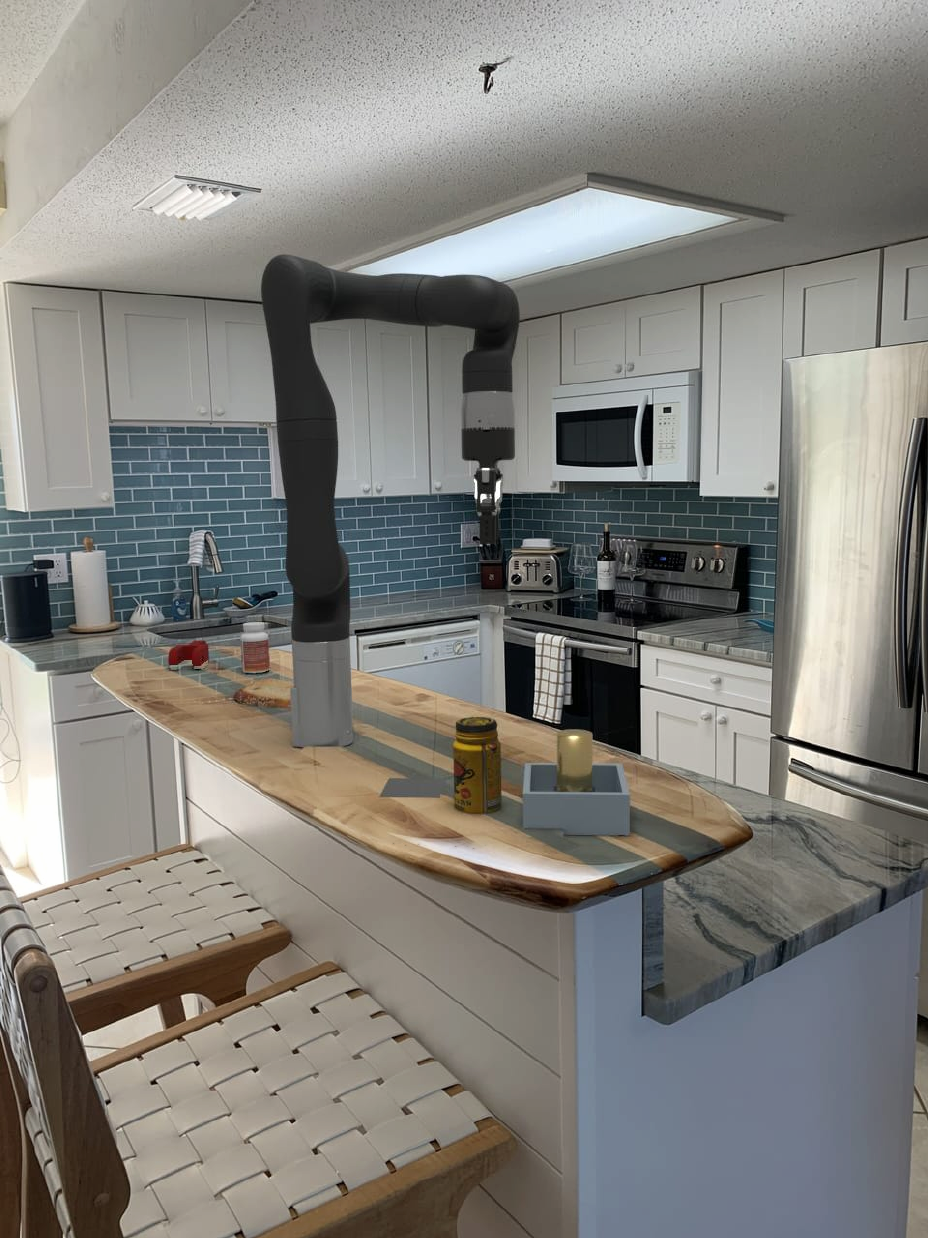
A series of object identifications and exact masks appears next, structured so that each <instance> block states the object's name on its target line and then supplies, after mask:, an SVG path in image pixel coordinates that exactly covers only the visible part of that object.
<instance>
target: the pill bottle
mask: <svg viewBox="0 0 928 1238" xmlns="http://www.w3.org/2000/svg"><path fill="white" fill-rule="evenodd" d="M242 629H243V633H242V634H241V635H240V640H239V642H240V659H241V671H244V672H251V673H256V672H265V671H268V670H270V671H271V663H270V662H271V661H270V660H271V659H270V644H269V643H270V642H269V635H268V634H267V632H265V631H264V630H265V622H264V621H263V622H262V621H252V622H251V621H250V622H245V623H243V624H242Z"/></svg>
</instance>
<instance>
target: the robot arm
mask: <svg viewBox="0 0 928 1238" xmlns="http://www.w3.org/2000/svg"><path fill="white" fill-rule="evenodd" d="M260 295H261V303H262V312H263V315H264V320H265V321H264V322H265V327H266V333H267V339H268V344H269V350H270V358H271V366H272V367H271V368H272V377H273V378H272V379H273V389H274V399H275V400H274V401H275V419H276V420H275V421H276V436H277V445H278V446H277V447H278V453H279V464H280V472H281V480H282V486H283V491H284V498H285V505H286V506H285V507H286V546H285V572H286V577H287V580H288V583H290V586H291V587H292V615H291V616H292V617H291V623H290V630H291V631H290V632H291V633H290V634H291V636H290V637H291V653H292V654H291V655H292V677H293V680H292V681H293V682H294V686H293V687H291V689H290V699H291V708H290V716H291V717H290V719H291V722H290V723H291V736H292V737H291V739H292V740H291V744H292V747H299V748H303V749H304V748H305V747H308V748H309V747H311V748H312V747H313V748H314V747H321V748H322V747H323V748H326V747H328V748H329V747H330V748H332V747H335V748H338V747H340V748H341V747H346V746H348V745H350V744H352V743H353V742H354V726H353V725H354V723H353V696H352V695H353V694H352V693H353V691H352V672H351V671H352V667H351V666H352V665H351V641H350V638H351V637H350V636H351V634H350V624H351V623H350V620H351V584H350V582H351V581H350V580H351V578H350V576H351V575H350V562H349V557H348V555H347V552H346V551H345V550H344V548H343V547H342V546H341V544H339V543H340V542H339V537H338V530H337V521H336V513H335V495H336V487H337V480H338V478H337V477H338V468H339V467H338V466H339V433H338V421H337V420H338V418H337V411H336V406H335V403H334V399H333V396H332V394H331V392H330V390H329V387H328V386H327V382H326V381H325V378H324V376H323V375H322V372H321V370H320V367H319V365H318V363H317V360H316V357H315V354H314V350H313V343H312V332H311V324H318V323H326V322H332V321H343V320H372V321H379V322H386V323H390V324H391V323H393V324H398V325H399V324H400V325H407V326H416V327H417V326H418V327H428V328H429V327H431V328H434V327H442V326H451V327H452V326H453V327H460V328H465V329H472V330H474V335H473V336H474V338H473V345H472V350H469V351H468V352H466V353H465V354H464V356H463V359H462V370H461V373H462V374H461V376H462V377H461V378H462V379H461V380H462V385H461V386H462V387H461V388H462V399H461V409H460V418H461V419H460V420H461V421H460V424H461V425H460V426H461V459H462V460H463V461H464V462H465V461H466V462H478V463H479V465H478V467H477V468H476V470H475V474H473V482H474V483H473V484H474V487H475V488H474V490H475V491H474V500H475V503H476V506H475V511H476V512H477V513H476V514H477V515H478V518H479V519H478V522H479V527H478V528H479V543H480V544H482V545H493V544H496V540H498V539H499V537H500V534H499V533H500V528H499V527H500V525H499V522H500V519H499V518H500V517H499V514H500V512H501V505H502V504H501V503H502V501H503V487H504V486H503V485H504V474H503V473H501V470H500V468H499V467H498V463H499V462H501V461H513V460H514V459H515V458H516V430H515V429H516V428H515V427H516V425H515V423H516V422H515V420H516V419H515V418H516V416H515V404H514V397H513V395H514V394H513V392H514V391H513V358H514V355H515V354H514V353H515V350H516V346H517V340H518V333H519V327H520V319H521V318H520V317H521V316H520V305H519V301H518V297H517V294H516V293H515V291H514V290H513V289H512V288H511V287H510V286H509V285H507V284H506V283H504V282H501V281H499V280H498V281H497V280H495V279H493V278H491V277H488V276H484V275H478V274H453V275H452V274H450V275H442V276H440V275H433V274H423V273H421V274H420V273H407V272H406V273H405V272H404V273H403V272H402V273H400V272H399V273H386V274H379V275H360V274H359V275H357V274H353V273H352V274H351V273H349V272H348V273H347V272H344V271H340V270H337V269H333V268H330V267H327V266H324V265H323V264H321V263H319V262H317V261H314V260H309V259H306V258H303V257H301V256H296V255H292V254H283V253H282V254H278V255H276V256H274V257H272V258H271V259H270V260H269V261H268V263H267V264H266V265H265V268H264V270H263V273H262V276H261V284H260Z"/></svg>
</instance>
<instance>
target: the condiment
mask: <svg viewBox="0 0 928 1238" xmlns="http://www.w3.org/2000/svg"><path fill="white" fill-rule="evenodd" d="M497 729H498V723H497V721H496V720H495V718H491V717H487V716H486V717H485V716H471V717H469V716H468V717H464V718H460V719H459V720H457V721H456V722H455V734H454V735H455V738H456V739H455V741H454V742H453V745H452V746H453V747H452V753H453V754H452V755H453V788H454V789H453V796H454V799H453V800H454V805H453V806H454V808H455V809H456V810H457V811H459V812H461V813H465V814H472V815H484V814H491V813H494V812H496V811H498V810H500V809H502V806H503V805H502V804H503V803H502V802H503V801H502V800H503V799H502V750H501V749H502V747H501V746H502V745H501V742H500V741H499V740H500V739H499V738H498V737H499V734H498V730H497Z"/></svg>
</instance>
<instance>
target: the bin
mask: <svg viewBox="0 0 928 1238" xmlns="http://www.w3.org/2000/svg"><path fill="white" fill-rule="evenodd" d="M522 785H523V786H522V829H550V830H551V829H560V830H561V829H562V830H563V836H564V835H565V836H568V835H569V836H618V835H625V837H626V836H628V837H629V836H630V833H631V831H630V830H631V825H630V823H631V794H630V789H629V786H628V780H627V778H626V774H625V770H624V765H623V764H622V763H592V787H595V792H554V786H557V762H555V763H554V762H525V763H524V773H523V784H522Z"/></svg>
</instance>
